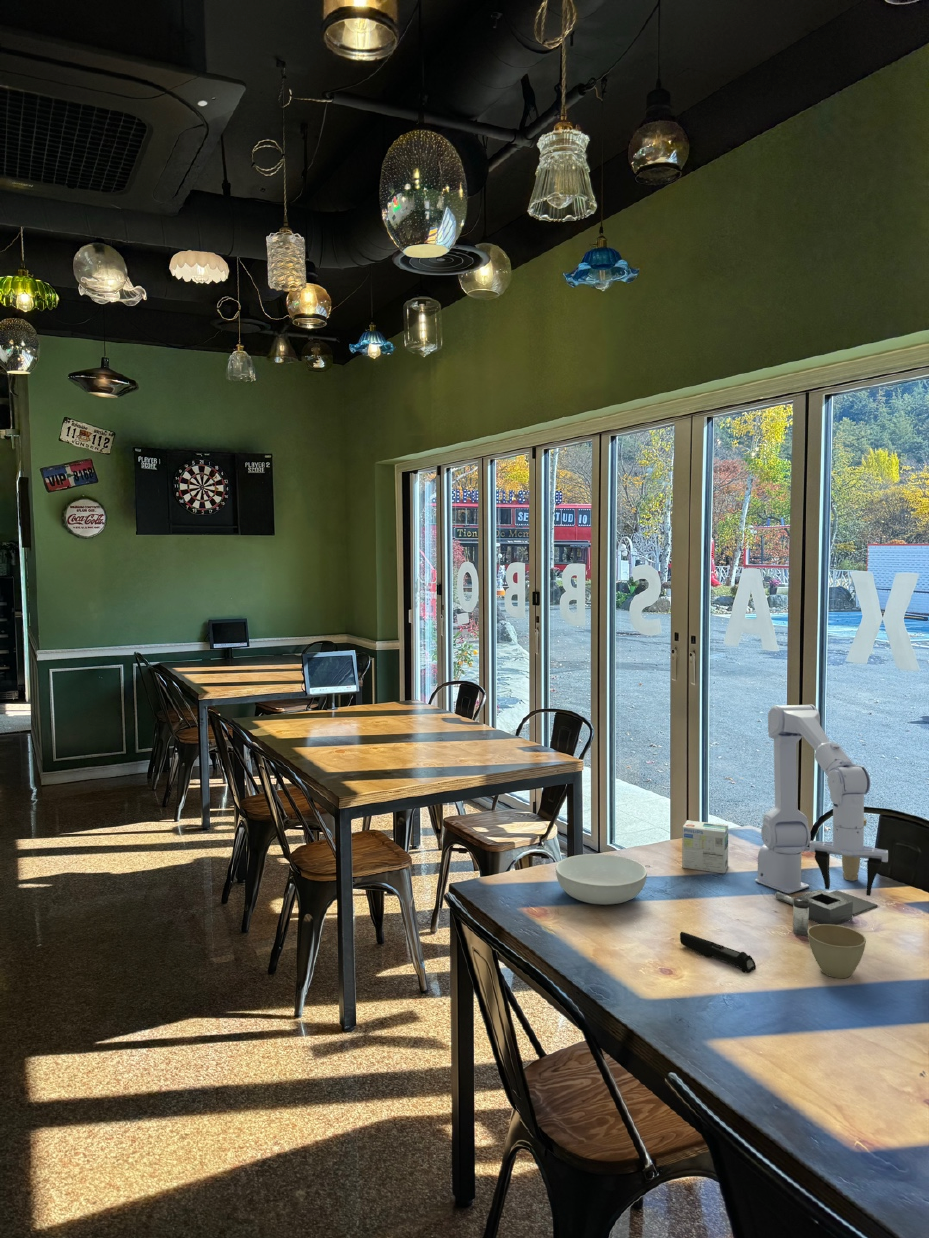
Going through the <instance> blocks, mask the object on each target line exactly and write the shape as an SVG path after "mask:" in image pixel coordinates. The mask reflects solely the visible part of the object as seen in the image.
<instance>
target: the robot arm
mask: <svg viewBox="0 0 929 1238" xmlns="http://www.w3.org/2000/svg"><path fill="white" fill-rule="evenodd" d="M820 717H821V715H820V712H819V710H818V708H817V707H816V706H815V705H814V704H812V703H811V704H810V703H808V704H791V705H788V704H786V705H778V704H774V705H773V706H772V707H771V708H770V709H769V710H768V711H767V733H768V737H769V738H770V739H773V765H774V766H773V770H774V771H773V772H774V773H773V775H774V806H773V808H771V809H770V810H768V811H766V813H764V814H763V816H762V817H763V818H762V825H761V828H760V829H761V831H760V833H761V834H760V836H761V840H762V842H763V845H761V847H760V848H759V849H758V853H757V854H758V855H757V878H755V880H754V881H755V882H756V883H759V884H761V885H764V886H766V887H769V888H772V889H774V890H777V891H778V892H781V893H782V892H783V893H784V894H786V895H787V894H792V893H796V892H798V891H801V890H804V889H807V888H809V887H810V885H809V884H808V883H805V882H802V859H803V858H802V855H803V854H802V852H805V851H806V850H805V848H807V847H809V848H808V849H809V853H814V860H815V862H816V864H817V865H818V868H819V870H820V872H821V875H822V878H823V882H824V889H825V890H830V887H831V877H830V860H831V858H830V856H831V855H838V856H842V855H843V856H851V857H858V858H860V859H867V863H866V874H867V875H866V876H867V877H866V879H867V880H866V888H865V889H866V890H865V891H866V896H867V897H868V896H869V897H870V896H871V894H872V888H873V884H874V881H875V878H876V877H877V875H878V872H879V870H880V869H881V867H882V862H883V863H888V862H889V849H882V848H875V847H872V846H867V845H864V842H865V840H864V836H865V833H864V827H865V826H864V818H865V817H864V816H865V795H867V794H868V793H869V791H870V790H871V778H870V774H869V772H868V771H867V769H866V767H865V766H864V765H859V764H857V763H854V762H852V760H851V759H850V757H849V756H848V755H847V754H846V752H845V751H844V750H843V748H842V747H841V746H840V745H839V744H838V743H836V742H833V741H832V742H831V741H830V739H829V738H828V736H827V734H826V732H825V731H824V729H823V727H822V726H821V718H820ZM802 738H804V739H805V741H806V742H807V743H808V744H809V745H810V747H811V748H813V750H814V751H815V752H814V759H815V761H816V762H817V764H818V765H819V766H820V768H821V769H822V771H823V772H824V773H825V775H826V776H827V777H826V780H827V781H826V782H827V787H828V789H829V798H830V801H831V802H832V805H833V806H832V808H833V809H832V841H821V840H820V841H818V840H811V838H812V837H811V835H812V834H811V830H810V826H809V820H808V817H807V816H806V814H804V813H803V812H801V810H799V809H798V776H797V775H798V773H797V772H798V771H797V769H798V768H797V766H798V765H797V764H798V763H797V761H798V759H797V743H798V742H799V741H800V740H801V739H802Z"/></svg>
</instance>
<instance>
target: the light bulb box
mask: <svg viewBox="0 0 929 1238" xmlns="http://www.w3.org/2000/svg"><path fill="white" fill-rule="evenodd" d="M681 835H682V836H681V837H682V846H681V847H682V853H681V854H682V858H681V859H682V861H681V863H682V864H681V865H682V866H681V868H682V869H690V870H697V871H703V872H712V873H719V874H725V873H726V872H727V869H728V866H729V824H727V823H726V824H724V823H714V822H706V821H705V822H704V821H697V820H696V821H695V820H688V819H687V820H686V821H685V823H684V824H683V825H682V834H681Z"/></svg>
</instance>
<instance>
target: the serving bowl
mask: <svg viewBox="0 0 929 1238" xmlns="http://www.w3.org/2000/svg"><path fill="white" fill-rule="evenodd" d="M555 875H556V878H557V879H556V880H557V882H558V884H559V885H560V887H561V888H562V890H563V891H564V892H565V893H566V894H567V895H569V897H572V898H573V899H576V900H578V901H580V902H584V903H588V904H592V905H593V904H594V905H615V904H621V903H625V902H627V901H631V900H632V899H634V898H635V897H636V896H638V895H639V894H640V893H641V892H642V890H643V889H644V887H645V885H646V882H647V876H648V871H647V868H646V867H645V865H643V864H642V863H640V862H639V861H637V860H634V859H632V858H629V857H625V856H621V855H615V854H606V853H605V854H604V853H586V854H578V855H573V856H569V857H568V856H567V857H566V858H564V859H561V860H560V861H558V862H557V863H556V865H555Z"/></svg>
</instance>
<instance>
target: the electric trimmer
mask: <svg viewBox="0 0 929 1238" xmlns="http://www.w3.org/2000/svg"><path fill="white" fill-rule="evenodd" d="M679 938H680V939H679V942H680V943H681V945H682V946H685V947H686V948H689V949H690V950H692V951H694V952H696V953H697V954H700V955H702V956H704V957H706V958H714V959H716V960H719V961H721V962H725V963H726V964H729V965H732V966H733V967H737V968H739V969H740V970H741V972H742V973H748V974H750V973H752V972H753V971H754V970H756V968H757V965H756V962H755V960H754V958H753V957H752V956H751V955H750V954H747V953H746V952H745V951H738V950H735V949H732V948H729V947H727V946H724V945H721V944H718V943H715V942H713V941H710V940H707V939H704V938H702V937H699V936H696V935H694V934H689V933H688V932H684V931H680V933H679Z"/></svg>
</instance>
